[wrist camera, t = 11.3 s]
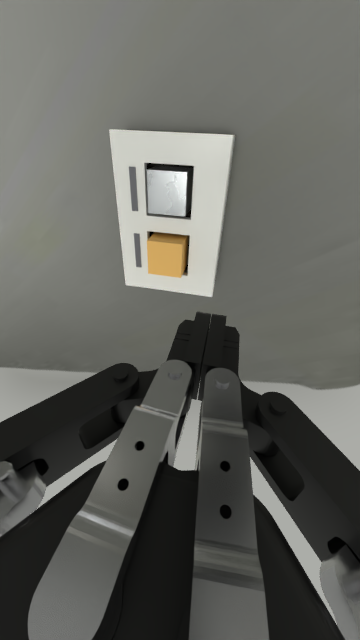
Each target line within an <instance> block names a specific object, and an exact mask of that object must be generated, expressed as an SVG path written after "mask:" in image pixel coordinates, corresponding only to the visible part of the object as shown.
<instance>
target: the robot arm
mask: <svg viewBox="0 0 360 640" xmlns="http://www.w3.org/2000/svg"><path fill="white" fill-rule="evenodd" d="M210 318H211V323H210ZM225 324H226V316H223V315H216V314H212V317H211V314H209V313H203V312H197V313H196V317H195V320H194V321H191V320H184V321H183V322H182V323H181V324H180V325H179V327H178V330H177V333H176V336H175V339H174V341H173V344H172V347H171V350H170V352H169V355H168V358H167V361H166V362H164V363H163V364H161V366H160V367H159V368H158V369H156V370H153V371H145V372H138V370H137V369H136V368H135V367H134V366H133V365H131V364H127V363H119V364H115V365H113V366H111V367H109V368H107V369H105V370H103V371H101V372H99V373H97V374H95V375H93V376H92V377H89V378H87V379H85V380H84V381H82V382H79V383H77V384H75V385H73V386H71V387H69V388H67V389H66V390H64V391H62V392H60V393H58V394H56V395H54V396H52V397H50V398H48V399H46V400H44V401H42V402H40V403H38V404H36V405H34V406H32V407H30V408H28V409H26V410H24V411H22V412H20V413H18V414H16V415H14V416H12V417H10V418H8V419H6V420H4V421H2V422H1V423H0V640H360V471H359V470H358V469H357V468H356V467H355V466H354V465H353V464H352V463H351V462H350V460H348V458H347V457H346V456H345V455H344V454H343V453H342V452H341V451H340V450H339V449H338V448H337V447H336V446H335V445H334V444H333V443H332V442H331V441H330V440H329V439H328V438H327V437H326V436H325V435H324V434H323V433H322V432H321V430H320V429H318V427H317V426H316V425H315V424H314V423H313V422H312V421H311V420H310V419H309V418H308V417H307V416H306V415H305V414H304V413H303V412H302V411H301V410H300V409H299V408H298V407H297V406H296V405H295V404H294V403H293V401H291V400H290V399H289V398H288V397H286V396H285V395H283V394H281V393H277V392H267V393H264V394H263V395H260V394H258V393H256V392H253V391H251V390H250V389H248V388H247V387H246V386H244V385H243V383H242V382H241V381H240V379H239V376H238V363H239V333H238V331H237V329H236V328H235V327H229V326H225ZM209 326H210V328H209ZM200 378H201V380H200ZM199 383H200V388H199ZM198 388H199V396H198V400H201V401H202V403H201V409H200V417H199V428H198V440H197V452H196V463H195V470H191V471H181V470H177V469H176V468H174V467H173V465H174V460H175V456H176V452H177V449H178V445H179V442H180V438H181V435H182V432H183V429H184V425H185V421H186V418H187V415H188V411H189V409H190V404H191V399H195V400H196V399H197V393H198ZM117 438H118V439H117ZM116 439H117V442H116V443H115V445H114V448H113V449H112V451H111V453H110V455H109V457H108V459H107V461H104V462H102V463H100V464H98V465H96V466H94V467H93V468H91V469H90V470H88V471H87V472H86V473H84V474H83V475H82V476H80V477H79V478H78V479H76V480H75V481H74V482H72V483H71V484H70V485H68V486H67V487H66V488H64V489H63V490H62V491H60V492H59V493H58V494H56V495H55V496H54V497H52V498H51V499H50V500H48V501H47V502H46V503H45V504H43V505H42V506H41V507H39V508H38V509H37V507H38V505H39V504H40V502H41V501H42V499H43V497H44V494H45V490H46V487H47V486H48V485H50V484H52V483H53V482H54V481H56V480H57V479H59V478H60V477H62V476H63V475H65V474H66V473H68V472H69V471H71V470H72V469H73V468H75V467H76V466H78V465H79V464H81V463H82V462H84V461H85V460H87V459H88V458H90V457H91V456H93V455H94V454H95V453H97V452H98V451H100V450H101V449H103V448H104V447H106V446H107V445H109V444H110V443H112V442H113V441H115V440H116ZM250 457H251V459H252V460H253V461H254V463H255V464H256V466H257V467H258V469H259V470H260V472H261V473H262V475H263V476H264V478H265V479H266V481H267V482H268V483H269V485H270V487H271V488H272V489H273V491H274V492H275V494H276V495H277V497H278V498H279V500H280V501H281V503H282V504H283V506H284V507H285V509H286V510H287V512H288V513H289V514H290V516H291V518H292V519H293V521H294V522H295V523H296V525H297V526H298V528H299V529H300V531H301V532H302V534H303V535H304V537H305V538H306V540H307V541H308V543H309V544H310V546H311V547H312V548H313V550H314V552H315V553H316V554H317V556H318V557H319V559H320V560H321V562H322V564H321V567H320V581H321V586H322V590H323V593H324V595H325V597H326V599H327V601H328V603H329V605H330V607H331V609H332V611H333V614H334V616H335V619H336V622H337V625H336V623H335V621H334V620H333V618H332V616H331V615H330V613H329V611H328V610H327V608H326V606H325V604H324V603H323V601H322V600H321V598H320V596H319V594H318V593H317V591H316V589H315V588H314V586H313V584H312V583H311V581H310V579H309V578H308V576H307V574H306V573H305V571H304V569H303V567H302V566H301V564H300V562H299V561H298V559H297V558H296V556H295V554H294V552H293V551H292V549H291V547H290V546H289V544H288V542H287V541H286V539H285V537H284V535H283V534H282V532H281V530H280V529H279V527H278V526H277V524H276V522H275V520H274V519H273V517H272V515H271V514H270V513H269V511H268V510H267V509H266V507H265V506H264V505H263V504H262V503H261V502H260V501H259V500H258V499H257V498H256V497H255V496H254V495H253V490H252V478H251V467H250ZM36 509H37V510H36ZM33 511H34V512H33ZM32 512H33V513H32ZM30 513H31V514H30ZM28 515H29V516H28Z"/></svg>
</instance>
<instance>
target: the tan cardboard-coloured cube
mask: <svg viewBox="0 0 360 640" xmlns="http://www.w3.org/2000/svg"><path fill="white" fill-rule="evenodd" d="M187 253H188V235H181V234H171V233H162V232H154V234H153V235H152V236H151V237H150V238H149V239H148V240H147V257H148V274H155V275H162V276H170V277H178V278H181V277H182V274H183V272H184V270H185V268H186V266H187Z"/></svg>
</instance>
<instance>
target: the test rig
mask: <svg viewBox="0 0 360 640" xmlns="http://www.w3.org/2000/svg"><path fill="white" fill-rule="evenodd" d="M109 132H110V142H111V151H112V161H113V170H114V179H115V189H116V198H117V207H118V217H119V226H120V236H121V245H122V254H123V264H124V273H125V282H126V285H130V286H138V287H145V288H152V289H159V290H166V291H173V292H180V293H187V294H194V295H201V296H209V297H212V295H213V290H214V285H215V281H216V274H217V267H218V259H219V252H220V245H221V237H222V230H223V222H224V215H225V208H226V200H227V193H228V186H229V178H230V171H231V164H232V156H233V149H234V142H235V135H225V134H203V133H180V132H158V131H136V130H114V129H109ZM147 163H159V164H175V165H190V166H194V175H193V192H192V208H191V218H187V217H177V216H166V215H156V214H149V213H148V189H147ZM149 231H152V232H162V233H171V234H181V235H190V242H189V259H188V270H184V272H183V274H182V277H181V278H178V277H170V276H162V275H155V274H148V257H147V240H148V239H149V238H150V235H149Z"/></svg>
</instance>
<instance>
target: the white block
mask: <svg viewBox="0 0 360 640" xmlns="http://www.w3.org/2000/svg"><path fill="white" fill-rule="evenodd" d="M193 172H194V168H182V167H167V166H156V167H153V168H150V169H147V189H148V213H153V214H164V215H174V216H186V215H187V213H188V212H189V211H190V209H191V206H192V189H193Z"/></svg>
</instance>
